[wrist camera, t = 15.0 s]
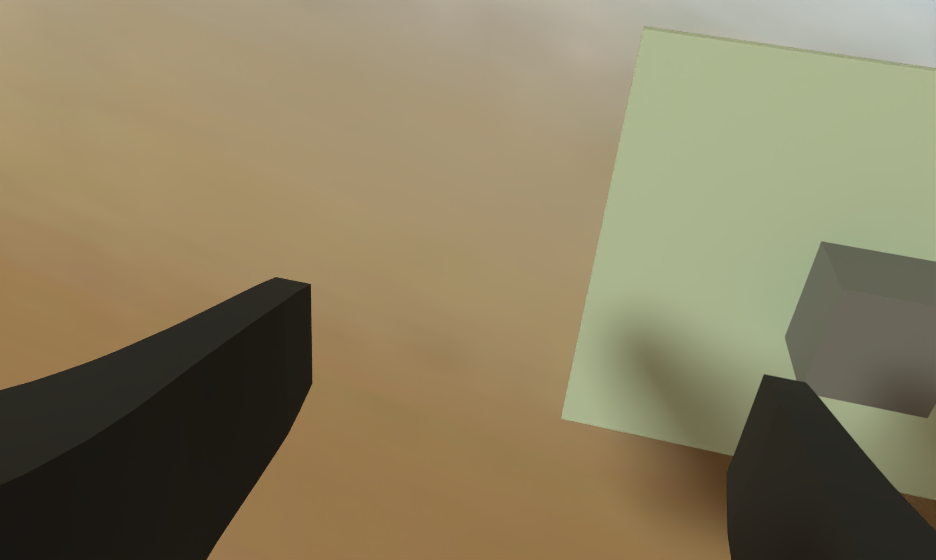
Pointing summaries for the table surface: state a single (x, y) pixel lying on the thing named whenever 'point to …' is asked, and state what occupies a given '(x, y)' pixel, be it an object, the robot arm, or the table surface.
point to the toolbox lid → (767, 250)
